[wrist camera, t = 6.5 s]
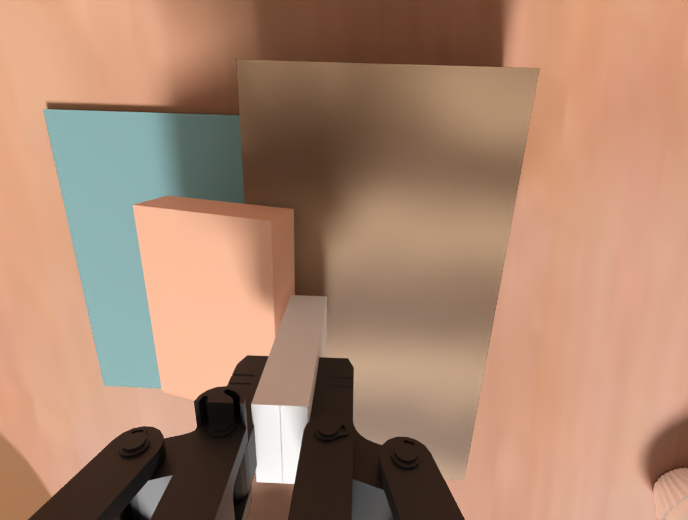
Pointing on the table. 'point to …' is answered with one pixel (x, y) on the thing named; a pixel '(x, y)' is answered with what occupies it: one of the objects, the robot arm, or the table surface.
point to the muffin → (672, 495)
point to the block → (213, 285)
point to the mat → (118, 216)
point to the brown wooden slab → (395, 223)
